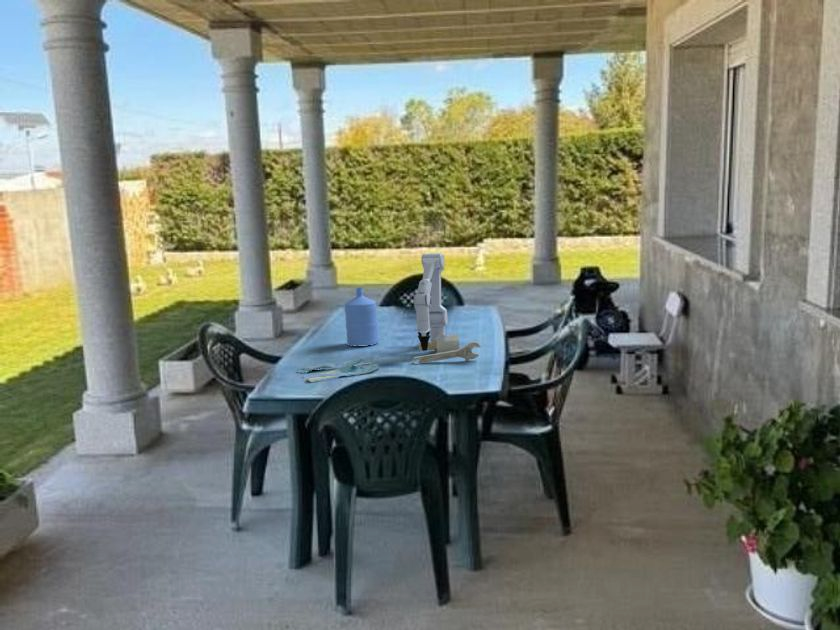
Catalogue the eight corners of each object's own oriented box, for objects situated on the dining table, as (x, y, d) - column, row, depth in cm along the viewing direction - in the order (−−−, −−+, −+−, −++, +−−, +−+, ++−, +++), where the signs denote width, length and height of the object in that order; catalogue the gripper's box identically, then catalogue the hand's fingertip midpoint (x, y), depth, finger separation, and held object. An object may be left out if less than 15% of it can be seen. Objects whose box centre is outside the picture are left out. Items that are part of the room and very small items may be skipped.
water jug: (374, 347, 370) (370, 290, 366) (343, 347, 374) (339, 290, 369) (382, 340, 386) (378, 285, 381) (352, 341, 389) (348, 286, 384)
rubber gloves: (292, 371, 334) (291, 356, 332) (363, 360, 346) (362, 346, 345) (309, 384, 309) (308, 369, 308) (385, 372, 321) (384, 357, 320)
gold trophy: (419, 352, 353) (418, 338, 352) (449, 350, 353) (449, 336, 352) (419, 355, 347) (418, 341, 346) (450, 353, 346) (449, 339, 345)
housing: (436, 350, 357) (435, 335, 355) (458, 348, 357) (457, 334, 355) (437, 356, 343) (436, 341, 342) (459, 355, 343) (458, 340, 342)
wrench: (414, 369, 334) (482, 358, 333) (414, 370, 332) (482, 359, 331) (411, 352, 332) (479, 340, 331) (411, 353, 331) (479, 341, 330)
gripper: (414, 317, 354) (416, 345, 357) (414, 322, 340) (415, 352, 342) (429, 316, 354) (431, 345, 356) (430, 322, 340) (431, 351, 342)
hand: (424, 348), depth 349 cm, fingers open, 7 cm apart
